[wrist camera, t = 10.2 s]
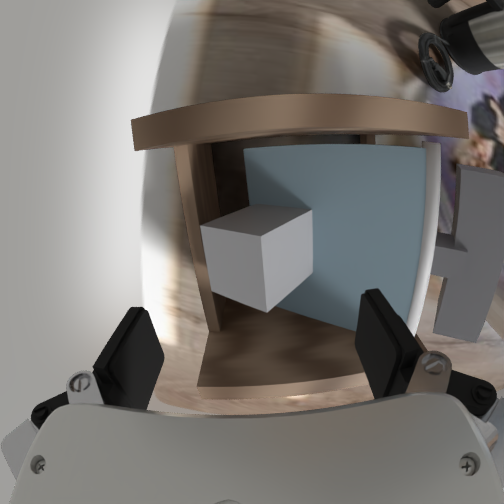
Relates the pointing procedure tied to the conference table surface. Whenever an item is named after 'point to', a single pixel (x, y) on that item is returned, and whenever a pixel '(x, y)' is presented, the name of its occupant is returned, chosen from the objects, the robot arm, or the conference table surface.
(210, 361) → the stand
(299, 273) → the grey cube-like block
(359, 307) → the robot arm
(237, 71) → the conference table surface
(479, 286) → the trapdoor
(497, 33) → the milk frother
